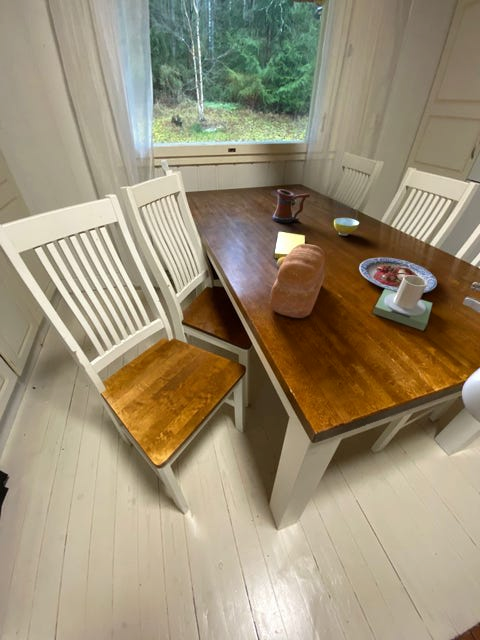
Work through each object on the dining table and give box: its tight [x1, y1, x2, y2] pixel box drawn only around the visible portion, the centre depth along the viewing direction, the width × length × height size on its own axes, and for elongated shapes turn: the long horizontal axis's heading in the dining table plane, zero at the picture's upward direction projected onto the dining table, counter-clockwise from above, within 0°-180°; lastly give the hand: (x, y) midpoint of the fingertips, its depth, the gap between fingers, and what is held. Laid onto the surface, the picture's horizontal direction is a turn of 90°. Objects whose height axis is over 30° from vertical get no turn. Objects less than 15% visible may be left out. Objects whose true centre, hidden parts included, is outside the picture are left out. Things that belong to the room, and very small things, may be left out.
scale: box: [372, 288, 433, 331], centre depth 84 cm, size 14×13×3 cm
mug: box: [272, 188, 311, 224], centre depth 145 cm, size 18×12×15 cm, turn 76°
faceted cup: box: [394, 275, 428, 309], centre depth 80 cm, size 6×6×8 cm
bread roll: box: [276, 257, 285, 269], centre depth 106 cm, size 8×9×4 cm
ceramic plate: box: [358, 257, 438, 294], centre depth 100 cm, size 26×26×3 cm
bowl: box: [333, 217, 360, 237], centre depth 132 cm, size 11×12×6 cm
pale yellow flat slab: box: [274, 231, 306, 259], centre depth 121 cm, size 12×2×24 cm
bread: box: [269, 243, 326, 319], centre depth 86 cm, size 14×26×15 cm, turn 156°
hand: (468, 292), depth 71 cm, fingers open, 8 cm apart
